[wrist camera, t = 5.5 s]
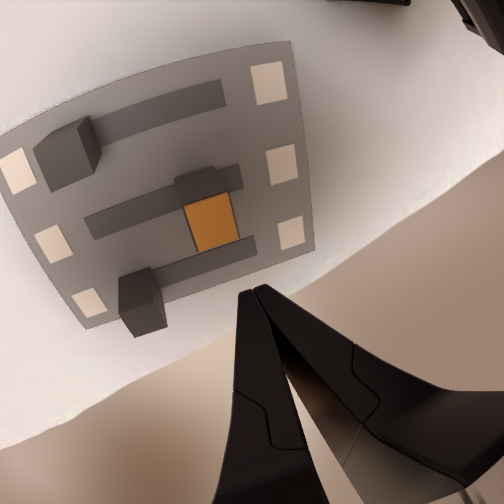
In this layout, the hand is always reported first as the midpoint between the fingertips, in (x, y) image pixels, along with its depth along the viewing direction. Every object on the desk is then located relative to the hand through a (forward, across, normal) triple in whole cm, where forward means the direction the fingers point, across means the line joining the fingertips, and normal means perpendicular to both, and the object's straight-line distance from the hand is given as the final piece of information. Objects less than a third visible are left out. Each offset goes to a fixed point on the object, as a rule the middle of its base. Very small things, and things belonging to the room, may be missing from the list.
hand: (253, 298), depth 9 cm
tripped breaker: (+8, 0, 0) cm, 8 cm away
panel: (+10, +2, 0) cm, 10 cm away
